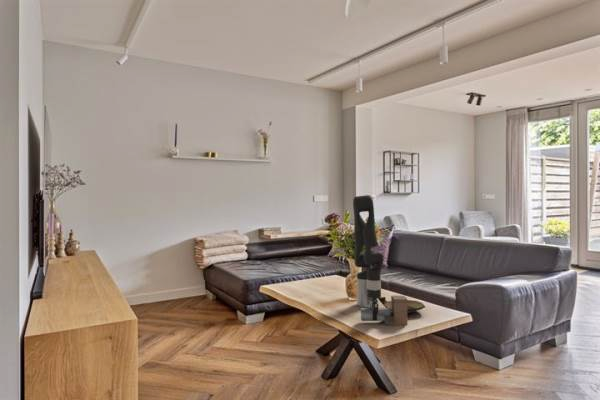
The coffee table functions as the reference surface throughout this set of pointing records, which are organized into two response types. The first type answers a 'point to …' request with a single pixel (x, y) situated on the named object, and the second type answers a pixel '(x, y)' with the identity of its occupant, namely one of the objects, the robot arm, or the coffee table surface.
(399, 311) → the dark u-channel
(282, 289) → the coffee table surface
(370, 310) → the gray rectangular block
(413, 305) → the cracked wood slice
